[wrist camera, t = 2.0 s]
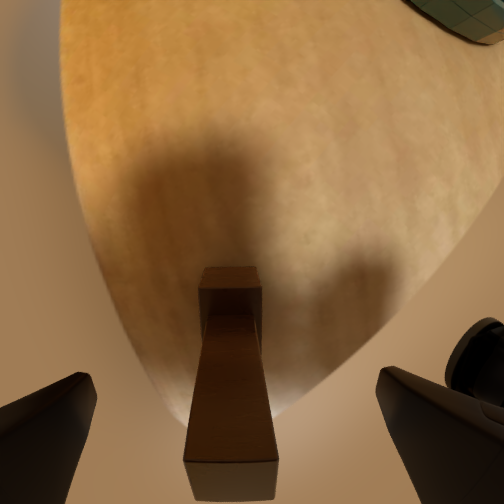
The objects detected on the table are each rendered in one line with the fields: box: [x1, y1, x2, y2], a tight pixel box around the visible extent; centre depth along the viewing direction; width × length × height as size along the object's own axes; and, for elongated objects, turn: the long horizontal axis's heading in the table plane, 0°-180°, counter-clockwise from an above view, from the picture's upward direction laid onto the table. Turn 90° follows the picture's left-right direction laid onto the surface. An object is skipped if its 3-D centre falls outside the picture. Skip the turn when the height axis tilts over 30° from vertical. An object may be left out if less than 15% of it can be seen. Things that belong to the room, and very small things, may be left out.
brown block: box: [183, 267, 279, 502], centre depth 9 cm, size 4×2×10 cm, turn 0°
